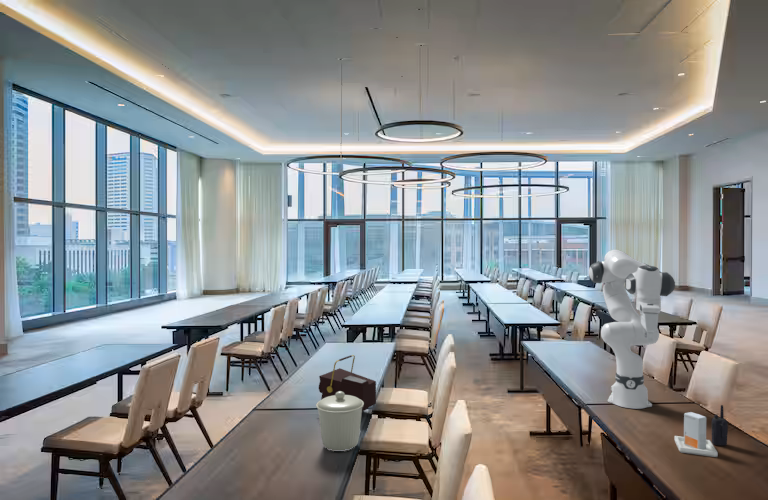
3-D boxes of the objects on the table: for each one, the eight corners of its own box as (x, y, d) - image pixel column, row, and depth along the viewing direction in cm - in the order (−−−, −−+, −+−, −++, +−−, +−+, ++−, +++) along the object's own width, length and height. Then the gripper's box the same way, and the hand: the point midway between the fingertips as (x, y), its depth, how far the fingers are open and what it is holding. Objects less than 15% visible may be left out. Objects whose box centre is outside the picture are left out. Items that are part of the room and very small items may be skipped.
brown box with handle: (338, 403, 238) (338, 351, 237) (379, 411, 226) (379, 357, 226) (317, 413, 224) (316, 358, 223) (359, 422, 212) (359, 364, 212)
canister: (320, 459, 177) (320, 401, 176) (313, 440, 194) (312, 386, 193) (369, 453, 182) (369, 396, 181) (358, 434, 199) (357, 382, 199)
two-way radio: (723, 442, 189) (723, 403, 189) (731, 447, 184) (732, 407, 184) (709, 442, 189) (709, 403, 188) (717, 447, 184) (717, 407, 184)
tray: (674, 440, 191) (674, 435, 191) (709, 444, 187) (709, 440, 187) (680, 452, 181) (680, 447, 180) (717, 457, 176) (717, 452, 176)
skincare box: (683, 444, 186) (683, 413, 186) (691, 442, 187) (691, 411, 187) (698, 451, 180) (699, 418, 180) (706, 449, 182) (706, 416, 182)
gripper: (636, 302, 212) (636, 334, 212) (642, 308, 193) (642, 343, 193) (653, 302, 210) (653, 335, 210) (661, 309, 191) (660, 345, 191)
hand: (648, 339), depth 201 cm, fingers open, 8 cm apart
